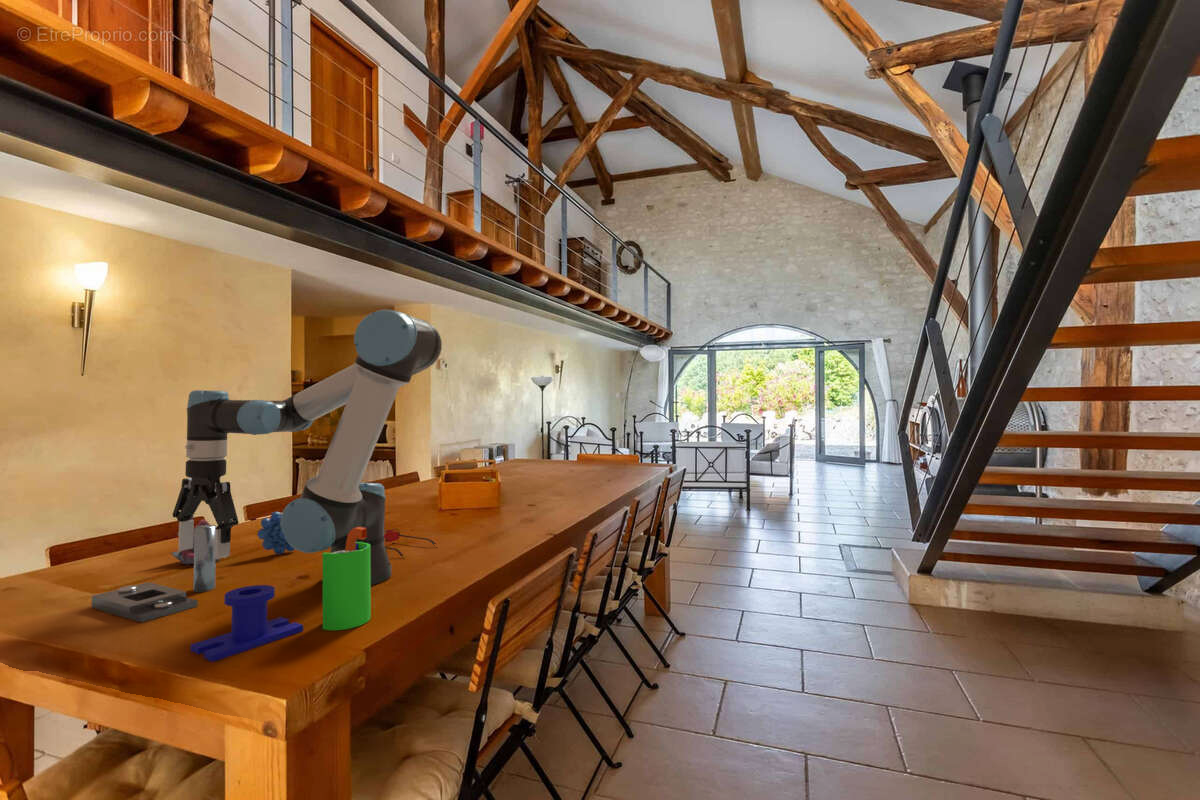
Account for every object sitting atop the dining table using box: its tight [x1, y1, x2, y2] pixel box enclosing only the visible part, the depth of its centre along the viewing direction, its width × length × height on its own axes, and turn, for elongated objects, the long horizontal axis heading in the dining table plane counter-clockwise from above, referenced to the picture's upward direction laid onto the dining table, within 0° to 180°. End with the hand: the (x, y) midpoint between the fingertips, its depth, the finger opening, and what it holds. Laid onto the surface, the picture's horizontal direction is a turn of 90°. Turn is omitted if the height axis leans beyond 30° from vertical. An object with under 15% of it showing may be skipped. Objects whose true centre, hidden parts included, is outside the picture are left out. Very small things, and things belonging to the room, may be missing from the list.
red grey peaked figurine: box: [170, 519, 226, 566], centre depth 149 cm, size 11×11×12 cm
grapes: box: [256, 511, 296, 555], centre depth 156 cm, size 12×7×12 cm, turn 141°
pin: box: [192, 524, 217, 593], centre depth 126 cm, size 4×4×14 cm
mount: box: [190, 584, 304, 663], centre depth 99 cm, size 15×8×9 cm, turn 148°
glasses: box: [384, 528, 436, 556], centre depth 162 cm, size 14×16×5 cm
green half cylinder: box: [322, 527, 372, 631], centre depth 108 cm, size 9×8×18 cm
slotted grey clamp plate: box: [91, 581, 199, 623], centre depth 115 cm, size 18×10×3 cm, turn 65°
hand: (203, 553), depth 126 cm, fingers open, 13 cm apart
